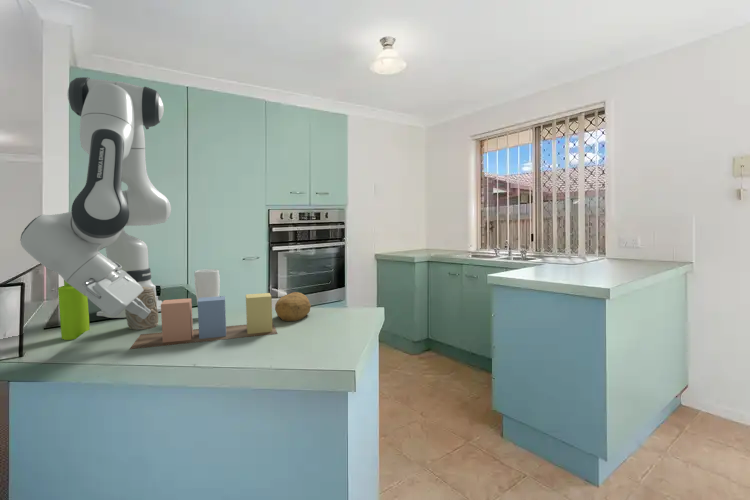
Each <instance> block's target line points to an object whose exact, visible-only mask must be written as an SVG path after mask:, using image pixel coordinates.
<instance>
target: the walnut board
mask: <svg viewBox="0 0 750 500" xmlns="http://www.w3.org/2000/svg"><path fill="white" fill-rule="evenodd" d="M272 330H273V332H263V333H253V334H248V333H247V324H238V325H226V336H224V337H214V338H204V339H199V328H196V329H195V328H193V336H192V339H191V340H184V341H174V342H164V343H163V338H162V331H161V332H151V333H142V334H140V335H139V336H138V337H137V338H136V339H135V341H134V342H133V343H132V345H131V346H130V347H129V350H135V349H138V350H139V349H145V348H154V347H155V348H157V347H165V346H166V347H167V346H173V345H175V346H176V345H184V344H194V343H203V342H212V341H214V342H215V341H220V340H221V341H222V340H223V341H224V340H233V339H243V338H251V337H260V336H261V337H262V336H270V335H271V336H272V335H278V332H277V329H276V327H275V324H274V322H273V321H272Z"/></svg>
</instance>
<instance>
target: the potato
mask: <svg viewBox="0 0 750 500" xmlns="http://www.w3.org/2000/svg"><path fill="white" fill-rule="evenodd" d="M310 302H311V301H310V300H309V298H308V297H307V296H306V295H305V294H303V293H302V292H298V291H297V292H296V291H294V292H291V293H288V294H284V295H283V296H281V297H280V298H279V299H278V300H277V301H276V303H275V306H274V307H275V308H274V310H275V313H276V316H277V317H278V318H280V319H281V320H282V321H284V322H295V321H300V320H303V319H304V318H306V316H307V315H308V314H310V311H311V306H312V305H311V303H310Z"/></svg>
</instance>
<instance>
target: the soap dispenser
mask: <svg viewBox="0 0 750 500" xmlns="http://www.w3.org/2000/svg"><path fill="white" fill-rule="evenodd" d="M57 292H58V294H57V295H58V307H59V309H58V310H59V319H60V320H59V322H60V323H59V324H60V334H61V335H60V336H61V340H63V339H64V341H71V340H73V339H75V340H76V339H78V338H79V337H80V336H82V335H83V334H85V333H86V332H88V331H90V329H91V328H90V314H89V312H90V310H89V301H88V300H89V299H88V297H87V296H85V295H83V294H82V293H80V292H79V291H78V290H76V289H75V288H74V287H72V286H71V285H70V284H68V283H67V282H65V280H64V279H63V285H62V286H59V287H58V288H57Z"/></svg>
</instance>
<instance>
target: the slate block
mask: <svg viewBox="0 0 750 500" xmlns="http://www.w3.org/2000/svg"><path fill="white" fill-rule="evenodd" d="M197 314H198V315H197V318H198V319H197V321H198V329H199V339H204V338H214V337H224V336H226V326H227V314H226V296H225V295H223V296H222V295H221V296H220V295H219V296H218V297H203V298H199V299H198V304H197Z"/></svg>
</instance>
